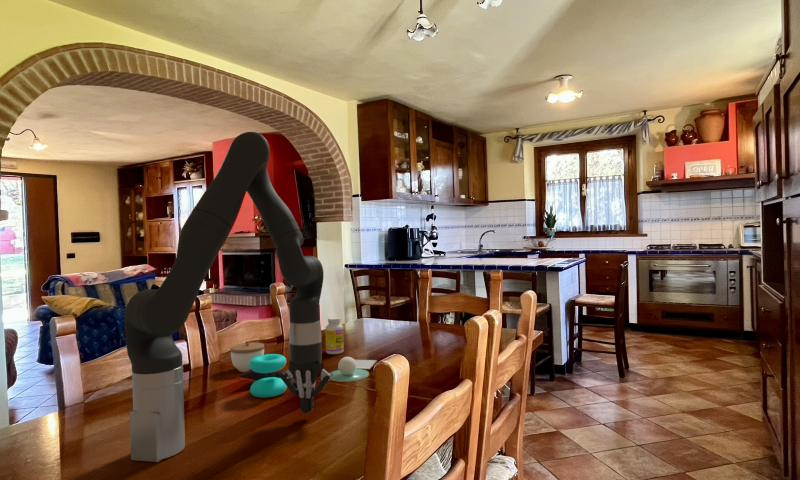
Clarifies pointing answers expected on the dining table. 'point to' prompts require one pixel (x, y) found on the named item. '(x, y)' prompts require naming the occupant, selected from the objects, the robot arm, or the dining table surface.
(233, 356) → the lidded jar
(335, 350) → the supplement bottle
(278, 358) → the donuts
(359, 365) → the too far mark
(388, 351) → the dining table surface
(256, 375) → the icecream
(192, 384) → the dining table surface
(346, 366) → the ball
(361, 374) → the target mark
